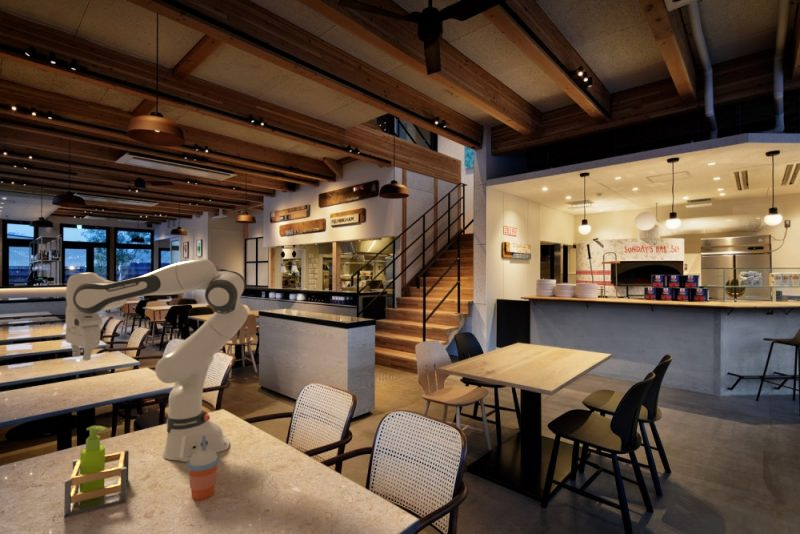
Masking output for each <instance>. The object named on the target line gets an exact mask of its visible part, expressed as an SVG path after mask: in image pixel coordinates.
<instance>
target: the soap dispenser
mask: <svg viewBox="0 0 800 534" xmlns="http://www.w3.org/2000/svg"><path fill="white" fill-rule="evenodd" d="M106 430H108V427H106V426H102V425H91V426H88V427H86V431H89V436H88V437H87V438H86V439H85V448H84V449H82V450H81V451H80V457H79V458H80V459H79V460H80V471H79V475H83V474H88V473H93V472H98V471H103V470H106V464H105V455H106V446H105V445H102V444H101V436H100V435H98V432H99V433H102V432H104V431H106ZM104 482H105V479H99V480H95V481H90V482H86V483H81V484H80V487H79V488H80V492H85V491H89V490H94V489H98V488H103V487H104Z"/></svg>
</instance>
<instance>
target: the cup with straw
mask: <svg viewBox="0 0 800 534" xmlns="http://www.w3.org/2000/svg"><path fill="white" fill-rule="evenodd" d="M205 440H206V436H205V435H204V436H202V449H200V450H198V451H196V452H195V453H194V454H193V455H192V457H191V458H190V460H189V461H188V462H186V468H187V470H189V472H188V477H189V479H188V480H189V487H190V491H191V493H190V494H191V498H192V499H193V500H196V501H200V500H206V499H208V498H210V497H212V496H213V495H214V493H215V487H216V483H217V476H218V475H217V474H218V465H219V464H220V459H221V458H220V456H219V455H218V453H216V452H215V451H214V450H212V449H209V448H205Z"/></svg>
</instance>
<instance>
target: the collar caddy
mask: <svg viewBox="0 0 800 534" xmlns="http://www.w3.org/2000/svg"><path fill="white" fill-rule="evenodd" d="M129 452H130V451H129V449H124V450H123V451H120V452H114V453H109V454H105V463H110V462H116V461H119V463H118V466H117V467H113V468H108V469H105V470H103V471H98V472H93V473H88V474H83V475H80V459H78V458H77V459H73V461H72V473H71V476H70V478H67V479H65V480H64V509H63V510H64V515H63V517H64V518H68V517H71V516H77V515H79V514H83V513H87V512H92V511H95V510H100V509H103V508H107V507H112V506H116V505H119V504H124V503H126V502H127V494H128V493H127V492H128V485H129V466H130V465H129V459H130V456H129V455H130V453H129ZM113 477H118V478H117V479H114V480H113V479H112V480H107V481H104V487H103V488H98V489H94V490H89V491H85V492H80V484H81V483H86V482H90V481H95V480H99V479H104V480H105V479H110V478H113Z"/></svg>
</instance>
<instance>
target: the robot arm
mask: <svg viewBox="0 0 800 534" xmlns="http://www.w3.org/2000/svg"><path fill="white" fill-rule="evenodd" d="M243 276H244V275H242V274H241V273H239V272H237V271H233V270H229V269H228V270H227V269H223V268H220V269H218V270H217V267H216V265H215V264H214V263H213V261H211V260H210V259H207V258H201V259H200V258H199V259H189V260H185V261H179V262H176V263H173V264H169V265H166V266H163V267H160V268H158V269H155V270H153V271H150V272H148V273H146V274H143V275H142V274H141V275H139V276H137V277H133V278H129V279H125V280H120V281H112V280H109V279H105V278H103V277H101V276H100V275H99V274H97V273H95V272H89V271H88V272H79V273H73V274H72V275H70V276H69V277H68V280H67V283H66V288H65V289H66V292H65V298H66V299H65V300H66V304H67V305H66V308H65V325H66V327H65V342H66V343H68V344H70V347H71V351H72V356H73V357H74V358H76V357H80V356H81V349H80V348H82V349H83V355H82V360H83V361H86V362H87V361H90V360H91V359H92V357H91V355H92V353H93V349H96V348H98V347H99V345H100V343H101V330H102V329H101V326H102V325H103V319H102V318H101V316H100V314H99V312H105V311H109V310H114V309H115V310H116V309H119V308H121V307H124V305H126V304H127V302H128V300H130V299H133V298H136V297H143V296H169V295H172V296H173V295H179V294H184V293H185V294H186V293H189V292H192V291H197V290H205V292H204V298H205V301H206V303H207V304H208V305H209V306H210V307H211V308H212V310H213V311H214V312H213V314H211V315H210V317H208V319H206V320H205V322H204V323H203V324H202V325H200V327H198V329H196V330H195V331H194V332H193V333H192V334H191V335H190V336H188V337H187V338H185V340H183V341H182V342H180V343H179V344H178V345H177V346H175V348H173V349H172V350H171V351H169V352H168V353H167V354H165V355H164V356H162V357H161V358H160V359H159V360H157V363H156V364H155V369H154V370H155V371H154V372H155V375H156V378H158V380H159V381H160V382H162V383H164V384H174V386H173V387H172V389H171V391H170V393H169V396H168V415H167V416H166V417H167V419H166V432H167V436H166V442H165V446H164V450H163V453H162V457H163V458H164V459H166V460H169V461H170V460H171V461H179V462H183V463H187V462H188V461H189V460H190V458H191V457H192V455H193V454H194V453H195V452H196V451H198V450H200V449H202V436H204V435H205V436H206V440H205V448H209V449H212V450H214V451H215V452H216V454H218V453H221V452H225V451H226V450H229V449H228V448H230V440H229V438H228V437H227V436H226V435H224V432H223V430H222V428H221V427H220V425H218V424H217V423H215V422H213V421H211V420H210V419H211V415H210V414H209V413H208V412H207V411H206V410H205V409H203V391H204V385H205V381H206V377H207V374H208V370H209V369H210V366H211V364H212V362H213V360H214V356H215V354H217V353H218V352H220V350H221V349H222V348H223V347H225V346H226V344H227V343H228V342H229V341H230V340H231V339H232V338H233V337H234V336H235V335H236V334H237V333H238V332H239V330H240V329H241V328H242V326H244V324H245V322H246V321H247V319H248V316H249V313H248V310H247V308H246V307H245V306H244V305H243V304H241V301H240V299H241V297H242V294H244V292H245V290H246V280H245V278H244V277H243Z"/></svg>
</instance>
